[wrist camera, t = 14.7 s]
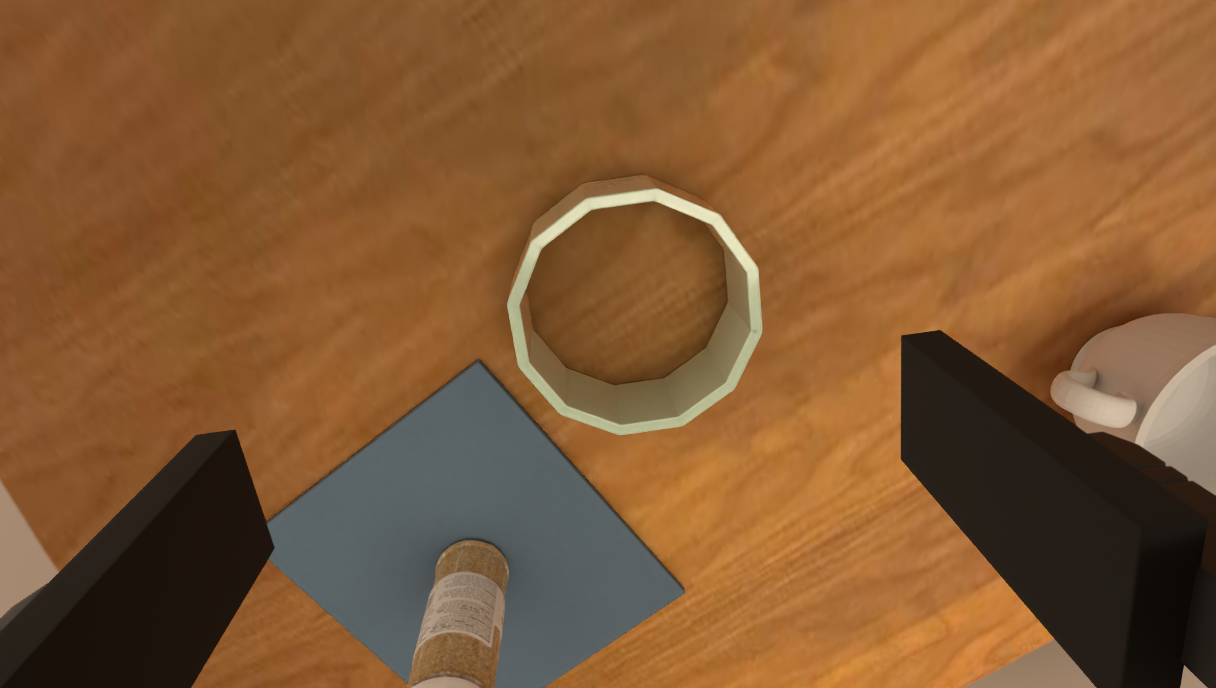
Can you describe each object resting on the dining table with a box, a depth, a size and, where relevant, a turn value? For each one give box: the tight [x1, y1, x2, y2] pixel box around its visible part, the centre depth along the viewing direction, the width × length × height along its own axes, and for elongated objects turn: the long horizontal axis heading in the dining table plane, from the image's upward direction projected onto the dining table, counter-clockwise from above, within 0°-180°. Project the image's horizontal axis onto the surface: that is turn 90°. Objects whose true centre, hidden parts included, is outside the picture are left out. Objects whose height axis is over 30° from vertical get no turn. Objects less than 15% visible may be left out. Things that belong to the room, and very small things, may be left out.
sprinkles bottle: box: [407, 540, 509, 688], centre depth 40 cm, size 5×5×14 cm
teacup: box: [1050, 313, 1216, 495], centre depth 41 cm, size 12×15×10 cm
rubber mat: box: [266, 360, 685, 688], centre depth 47 cm, size 20×18×1 cm
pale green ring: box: [507, 175, 763, 435], centre depth 40 cm, size 12×12×6 cm
